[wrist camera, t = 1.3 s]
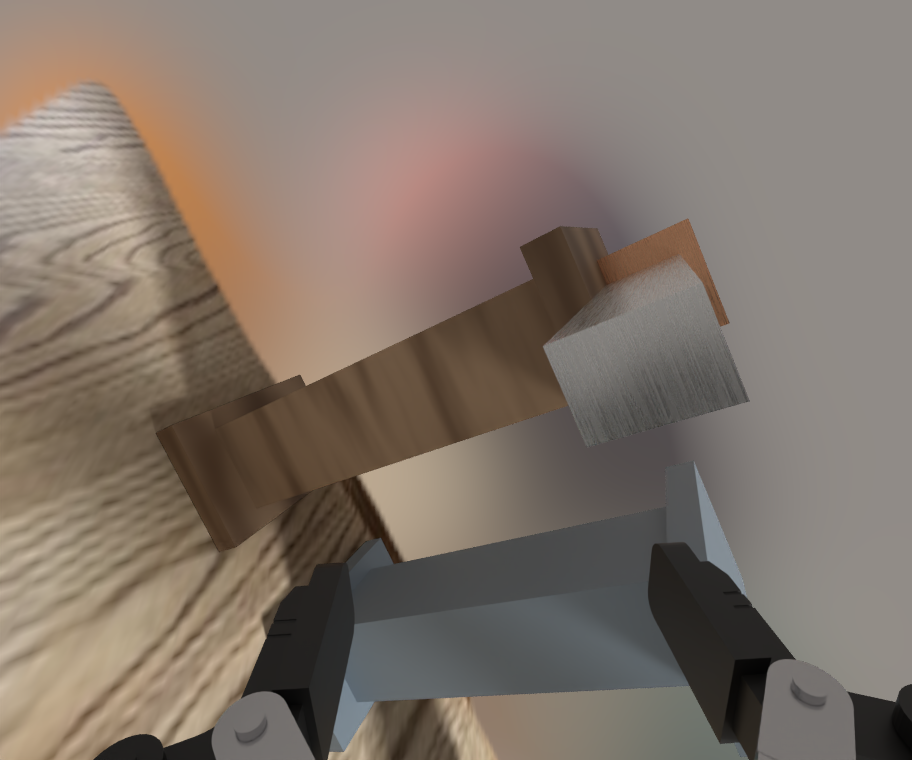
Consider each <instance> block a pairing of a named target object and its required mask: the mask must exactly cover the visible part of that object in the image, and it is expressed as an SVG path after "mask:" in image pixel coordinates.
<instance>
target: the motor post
mask: <svg viewBox="0 0 912 760" xmlns="http://www.w3.org/2000/svg"><path fill="white" fill-rule="evenodd" d="M671 542H685V543H686V544H687V545H688V546H689V547H690V548H691V550H692V551H693V553H694V554H695V555H696V557H697V558H698V559H699V561H700V562H701V561H710V562H711V563H713V564H714V565H715V566H717V567H718V568H720V569H721V570H722V571H724V572H725V573H727V574H728V575H729V576H730V577H731V579H732V580H733V581H734V583H735V584H736V585H737V586H738V588H739V589H740V590H741V593H742V594H744V595H745V596H746V591H745V587H744V583H743V579H742V577H741V574H740V572H739V569H738V567H737V564H736V562H735V560H734V557H733V555H732V552H731V550H730V548H729V545H728V543H727V540H726V538H725V535H724V533H723V531H722V528H721V526H720V523H719V521H718V518H717V516H716V514H715V511H714V509H713V506H712V504H711V502H710V499H709V497H708V494H707V492H706V489H705V487H704V485H703V482H702V480H701V477H700V475H699V473H698V470H697V468H696V466H695V463H694V461H690V462H686V463H682V464H678V465H674V466H670V467H666V507H663V508H658V509H653V510H648V511H643V512H639V513H634V514H629V515H624V516H620V517H615V518H610V519H606V520H601V521H597V522H591V523H587V524H582V525H577V526H573V527H568V528H563V529H559V530H553V531H549V532H544V533H539V534H535V535H530V536H525V537H521V538H516V539H511V540H506V541H501V542H497V543H492V544H487V545H483V546H478V547H473V548H468V549H464V550H459V551H455V552H449V553H445V554H440V555H435V556H430V557H426V558H421V559H416V560H412V561H407V562H402V563H397V564H393V562H392V560H391V558H390V556H389V554H388V552H387V550H386V548H385V546H384V543H383V541H382V539H381V538H378V539H374V540H370V541H366V542H365V543H364V544H363V545H362V546H361V547H360V548H359V549H358V550H357V551H356V552H355V553H354V554H353V555H352V556H351V557H350V558H349V560H348V561H347V562H346V563H347V565H348V570H349V576H350V583H351V590H352V597H353V604H354V612H355V625H354V635H353V640H352V645H351V649H350V654H349V659H348V664H347V669H346V673H345V678H344V683H343V688H342V692H341V697H340V702H339V707H338V712H337V716H336V721H335V726H334V731H333V736H332V740H331V745H330V750H329V752H344V751H345V749H346V748H347V746H348V744H349V743H350V741H351V739H352V738H353V736H354V734H355V733H356V731H357V730H358V728H359V726H360V725H361V723H362V721H363V720H364V718H365V717H366V715H367V713H368V712H369V710H370V708H371V707H372V705H373V703H374V702H375V701H393V700H413V699H433V698H453V697H473V696H493V695H511V694H513V695H514V694H532V693H533V694H534V693H553V692H574V691H594V690H614V689H634V688H653V687H676V686H689V684H688V682H687V680H686V678H685V676H684V674H683V672H682V670H681V668H680V667H679V665H678V663H677V661H676V659H675V657H674V655H673V653H672V651H671V649H670V647H669V646H668V644H667V642H666V640H665V638H664V636H663V634H662V632H661V630H660V628H659V627H658V625H657V623H656V621H655V619H654V617H653V615H652V612H651V609H650V605H649V600H648V582H649V572H650V562H651V551H652V547H653V545H654V544H655V543H671ZM746 598H747V596H746ZM734 744H735V746H736V748H737V751H738V753H739V755H740V757H747V755H746V753H745V751H744V750H743V748H742V746H741V744H740V743H734Z"/></svg>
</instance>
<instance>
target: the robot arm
mask: <svg viewBox="0 0 912 760" xmlns="http://www.w3.org/2000/svg"><path fill="white" fill-rule="evenodd" d="M648 600H649V605H650V609H651V612H652V615H653V617H654V619H655V621H656V623H657V625H658V627H659V628H660V630H661V632H662V634H663V636H664V638H665V640H666V642H667V644H668V646H669V647H670V649H671V651H672V653H673V655H674V657H675V659H676V661H677V663H678V665H679V667H680V668H681V670H682V672H683V674H684V676H685V678H686V680H687V682H688V684H689V686H690V687H691V689H692V691H693V693H694V695H695V697H696V699H697V700H698V703H699V705H700V706H701V708H702V710H703V712H704V714H705V716H706V718H707V720H708V722H709V723H710V725H711V727H712V729H713V731H714V733H715V735H716V737H717V739H718V740H719V742H720V744H723V743H740V744H741V746H742V748H743V750H744V751H745V753H746V755H747V757H748V759H749V760H912V684H910V685H907V686H905V687H903V688H902V689H901V690H900V691H899V695H898V697H897V700H896V702H893V701H888V700H883V699H878V698H874V697H869V696H864V695H860V694H855V693H850V692H847V691H846V690H845V689H844V687H843V686H842V685H841V684H840V683H839V682H838V681H837V680H836V679H834V678H833V677H832V676H831V675H829V674H828V673H826V672H825V671H823V670H821V669H819V668H818V667H816V666H814V665H811V664H809V663H806V662H803V661H798V660H796V659H795V658H794V657H793V656H792V654H791V653H790V652H789V650H788V649H787V648H786V647H785V645H784V644H783V643H782V642H781V640H780V639H779V638H778V637H777V635H776V634H775V633H774V632H773V630H772V629H771V628H770V627H769V625H768V624H767V623H766V622H765V620H764V619H763V618H762V616H761V615H760V614H759V613H758V611H757V610H756V609H755V608H753V607H752V604H751V603H750V601H749V600H748V599H747V598H746V596H745V595H744V594H742V593H741V590H740V589H739V588H738V586H737V585H736V584H735V583H734V581H733V580H732V579H731V577H730V576H729V575H728V574H727V573H725V572H724V571H722V570H721V569H720V568H718V567H717V566H715V565H714V564H713V563H711V562H710V561H701V562H700V561H699V559H698V558H697V557H696V555H695V554H694V553H693V551H692V550H691V548H690V547H689V546H688V545H687V544H686V543H685V542H671V543H655V544H654V545H653V547H652V551H651V562H650V572H649V582H648ZM354 625H355V612H354V604H353V597H352V590H351V583H350V576H349V570H348V565H347V563H331V564H318V565H316V567H315V569H314V572H313V575H312V578H311V581H310V583H309V586H298V587H295V588H294V589H293V590H292V591H291V592H290V593H289V594H288V595H287V596H286V598H285V599H284V600H283V601H282V602H281V603H280V606H279V608H278V611H277V613H276V616H275V618H274V623H273V624H272V625H271V628H270V630H269V633H268V635H267V636H268V637H267V639H266V640H265V642H264V645H263V647H262V649H261V652H260V654H259V657H258V659H257V662H256V664H255V666H254V669H253V671H252V674H251V676H250V679H249V681H248V683H247V686H246V688H245V691H244V693H243V695H242V697H241V699H240V700H238V701H237V702H235V703H234V704H233V705H231V706H230V707H229V708H228V709H227V710H226V711H225V712H224V713H223V715H222V716H221V717H220V718H219V720H218V722H217V724H216V725H215V727H213V728H212V729H210V730H208V731H206V732H205V733H202V734H200V735H198V736H195V737H193V738H190V739H187V740H184V741H182V742H179V743H176V744H173V745H171V746H168V747H165V748H163V746H162V743H161V742H160V740H159V739H157V738H156V737H154V736H152V735H147V734H139V735H134V736H131V737H128V738H125V739H123V740H120V741H118V742H117V743H115V744H113V745H111V746H110V747H108V748H107V749H106V750H104V751H103V752H102V753H100V754H99V755H98V756H97V757H96V758H95V759H94V760H327V759H328V755H329V750H330V745H331V740H332V736H333V731H334V726H335V721H336V716H337V712H338V707H339V702H340V697H341V692H342V688H343V683H344V678H345V673H346V669H347V664H348V659H349V654H350V649H351V645H352V640H353V635H354Z"/></svg>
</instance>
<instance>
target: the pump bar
mask: <svg viewBox="0 0 912 760" xmlns="http://www.w3.org/2000/svg"><path fill="white" fill-rule="evenodd" d="M597 262H598V265H599V267H600V270H601V272H602V274H603V277H604V279H605V282H606V284H607V285H606V286H605V287H604V288H603V289H602V290H601V291H600V292H599V293H598V294H597V295H596V296H595V297H594V298H593V299H592V300H590V301H589V302H588V303H587V304H586V305H585V306H584V307H583V308H582V309H581V310H580V311H579V312H578V313H577V314H576V315H575V316H574V317H573V318H572V319H571V320H570V321H569V322H568V323H566V324H565V325H564V326H563V327H562V328H561V329H560V330H559V331H558V332H557V333H556V334H555V335H554V336H553V337H552V338H551V339H550V340H549V341H548V342H547V343H546V344H545V345H543V348H544V350H545V353H546V355H547V357H548V360H549V362H550V364H551V366H552V369H553V371H554V373H555V376H556V378H557V380H558V383H559V385H560V387H561V389H562V392H563V394H564V396H565V399H566V401H567V403H568V405H569V407H570V410H571V412H572V415H573V417H574V419H575V421H576V424H577V426H578V428H579V431H580V433H581V435H582V437H583V440H584V442H585V444H586V447H590V446H593V445H597V444H600V443H604V442H608V441H611V440H615V439H618V438H622V437H625V436H629V435H632V434H636V433H639V432H643V431H646V430H650V429H654V428H657V427H661V426H663V425H667V424H671V423H675V422H678V421H682V420H685V419H689V418H692V417H695V416H699V415H703V414H706V413H709V412H713V411H717V410H720V409H724V408H727V407H731V406H734V405H737V404H741V403H745V402H748V401H749V398H748V396H747V393H746V391H745V388H744V386H743V383H742V381H741V378H740V376H739V373H738V371H737V368H736V366H735V363H734V360H733V358H732V356H731V353H730V350H729V348H728V345H727V343H726V340H725V338H724V335H723V333H722V330H721V328H720V326H723V325H726V324H729V321H728V318H727V316H726V313H725V311H724V308H723V306H722V303H721V300H720V298H719V295H718V293H717V290H716V288H715V285H714V283H713V280H712V278H711V275H710V272H709V270H708V268H707V265H706V262H705V260H704V257H703V255H702V252H701V250H700V247H699V245H698V242H697V239H696V237H695V235H694V232H693V229H692V227H691V224H690V222H689V219H686V220H683V221H681V222H679V223H677V224H675V225H673V226H671V227H668V228H666V229H664V230H662V231H660V232H657V233H656V234H653V235H651V236H649V237H647V238H644V239H642V240H640V241H638V242H636V243H634V244H631V245H629V246H627V247H625V248H623V249H621V250H618V251H617V252H614V253H612V254H610V255H608V256H605V257H603V258H601V259H599V260H597Z"/></svg>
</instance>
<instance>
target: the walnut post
mask: <svg viewBox="0 0 912 760" xmlns="http://www.w3.org/2000/svg"><path fill="white" fill-rule="evenodd" d="M520 249H521V251H522V254H523V256H524V258H525V260H526V263H527V265H528V267H529V270H530V272H531V274H532V277H533V279H532V280H530V281H528V282H526V283H524V284H521V285H520V286H517V287H515V288H513V289H511V290H509V291H507V292H505V293H502V294H500V295H498V296H496V297H494V298H492V299H490V300H488V301H485V302H483V303H481V304H479V305H477V306H475V307H473V308H471V309H468V310H466V311H464V312H462V313H460V314H458V315H456V316H454V317H452V318H449V319H447V320H445V321H443V322H441V323H439V324H437V325H435V326H433V327H431V328H428V329H426V330H424V331H422V332H420V333H418V334H416V335H413V336H411V337H409V338H407V339H405V340H403V341H401V342H399V343H396V344H394V345H392V346H390V347H388V348H386V349H384V350H382V351H380V352H378V353H375V354H373V355H371V356H369V357H367V358H365V359H363V360H360V361H358V362H356V363H354V364H352V365H350V366H348V367H346V368H344V369H341V370H339V371H337V372H335V373H333V374H331V375H329V376H327V377H324V378H323V379H320V380H318V381H316V382H314V383H312V384H310V385H308V386H305V383H304V381H303V380H302V377H301V375H298V376H295V377H293V378H290V379H288V380H285V381H283V382H280V383H278V384H275V385H272V386H270V387H267V388H265V389H262V390H260V391H257V392H255V393H252V394H250V395H247V396H245V397H242V398H239V399H237V400H234V401H232V402H229V403H227V404H224V405H222V406H219V407H217V408H214V409H211V410H209V411H206V412H204V413H201V414H199V415H196V416H194V417H191V418H189V419H186V420H184V421H181V422H178V423H176V424H173V425H171V426H169V427H167V428H165V429H163V430H161V431H159V432H157V433H156V434H157V436H158V438H159V440H160V442H161V444H162V446H163V447H164V449H165V451H166V453H167V455H168V457H169V459H170V461H171V462H172V464H173V466H174V468H175V470H176V472H177V474H178V476H179V478H180V479H181V481H182V483H183V485H184V487H185V489H186V491H187V493H188V494H189V496H190V498H191V500H192V502H193V504H194V506H195V508H196V509H197V511H198V513H199V515H200V517H201V519H202V521H203V523H204V524H205V526H206V528H207V530H208V532H209V534H210V536H211V538H212V539H213V541H214V543H215V545H216V547H217V549H218V551H219V552H221V551H224V550H228V549H231V548H235V547H237V546H238V545H240V544H241V543H242V542H244V541H245V540H246V539H248V538H249V537H250V536H252V535H253V534H254V533H256V532H257V531H258V530H260V529H261V528H263V527H264V526H265V525H267V524H268V523H269V522H271V521H272V520H273V519H275V518H276V517H277V516H279V515H280V514H281V513H283V512H284V511H286V510H287V509H288V508H290V507H291V506H292V505H294V504H295V503H296V502H298V501H299V500H300V499H302V498H303V497H304V496H306V495H307V494H309V493H310V492H311V491H313V490H315V489H318V488H321V487H324V486H327V485H330V484H333V483H336V482H339V481H342V480H345V479H348V478H351V477H354V476H357V475H360V474H363V473H366V472H369V471H372V470H375V469H378V468H381V467H384V466H387V465H390V464H393V463H396V462H399V461H402V460H405V459H408V458H411V457H414V456H417V455H420V454H423V453H426V452H429V451H433V450H435V449H439V448H442V447H444V446H448V445H450V444H453V443H456V442H460V441H463V440H465V439H469V438H471V437H474V436H478V435H481V434H484V433H487V432H489V431H493V430H496V429H499V428H502V427H505V426H508V425H511V424H514V423H517V422H520V421H523V420H526V419H529V418H532V417H535V416H538V415H541V414H544V413H547V412H550V411H553V410H556V409H559V408H562V407H565V406H568V403H567V401H566V399H565V396H564V394H563V392H562V389H561V387H560V385H559V383H558V380H557V378H556V376H555V373H554V371H553V369H552V366H551V364H550V362H549V360H548V357H547V355H546V353H545V350H544V348H543V345H545V344H546V343H547V342H548V341H549V340H550V339H551V338H552V337H553V336H554V335H555V334H556V333H557V332H558V331H559V330H560V329H561V328H562V327H563V326H564V325H565V324H566V323H568V322H569V321H570V320H571V319H572V318H573V317H574V316H575V315H576V314H577V313H578V312H579V311H580V310H581V309H582V308H583V307H584V306H585V305H586V304H587V303H588V302H589V301H590V300H592V299H593V298H594V297H595V296H596V295H597V294H598V293H599V292H600V291H601V290H602V289H603V288H604V287H605V286H606V285H607V284H606V282H605V279H604V277H603V274H602V272H601V270H600V267H599V265H598V262H597V260H599V259H601V258H603V257H605V256H608V253H607V250H606V248H605V246H604V243H603V241H602V238H601V236H600V233H599V231H598V229H597V228H580V227H562V226H560V227H558V228H556V229H554V230H552V231H551V232H548V233H547V234H544V235H542V236H540V237H538V238H536V239H535V240H533V241H531V242H529V243H527V244H525V245H523V246H521V247H520Z"/></svg>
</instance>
